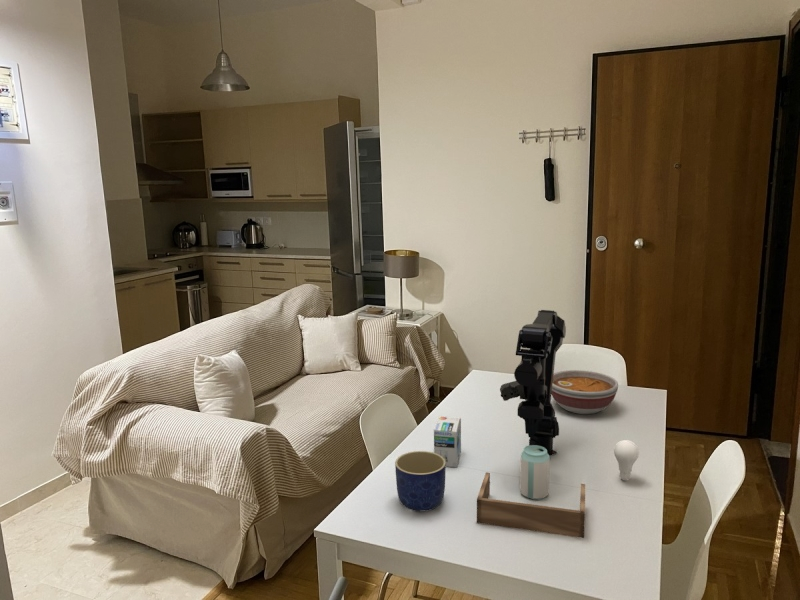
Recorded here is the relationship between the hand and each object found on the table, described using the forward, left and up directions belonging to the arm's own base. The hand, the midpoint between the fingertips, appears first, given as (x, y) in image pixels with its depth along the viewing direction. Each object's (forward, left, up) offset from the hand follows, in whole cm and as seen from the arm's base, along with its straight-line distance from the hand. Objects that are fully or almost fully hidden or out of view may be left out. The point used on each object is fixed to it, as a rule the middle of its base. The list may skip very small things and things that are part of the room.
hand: (532, 430), depth 162 cm
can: (+6, +7, -13) cm, 16 cm away
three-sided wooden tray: (+14, +14, -13) cm, 24 cm away
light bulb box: (+12, -21, -13) cm, 28 cm away
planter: (+32, -6, -13) cm, 35 cm away
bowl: (-48, -24, -13) cm, 55 cm away
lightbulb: (-18, +16, -13) cm, 27 cm away
